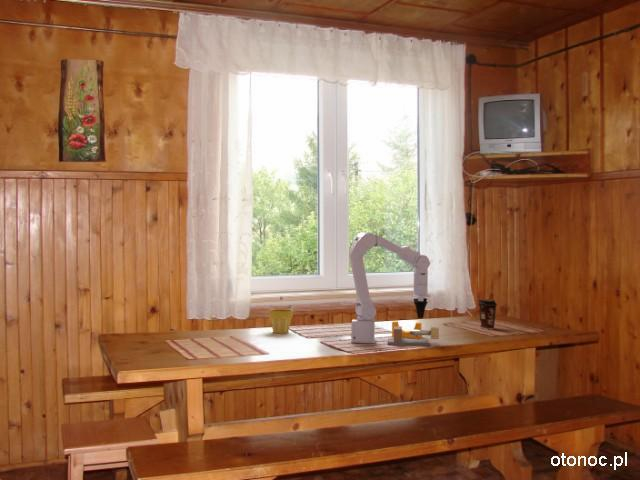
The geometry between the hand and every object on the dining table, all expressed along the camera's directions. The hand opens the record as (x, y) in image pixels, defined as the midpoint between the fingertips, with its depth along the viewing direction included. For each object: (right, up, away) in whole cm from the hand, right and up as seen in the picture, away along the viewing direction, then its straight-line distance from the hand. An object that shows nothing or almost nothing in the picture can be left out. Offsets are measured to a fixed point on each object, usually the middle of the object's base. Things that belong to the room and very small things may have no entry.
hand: (420, 316), depth 281 cm
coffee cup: (+35, -9, +32) cm, 48 cm away
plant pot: (-58, -9, +18) cm, 62 cm away
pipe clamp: (-4, -10, +7) cm, 13 cm away
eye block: (-5, -10, -9) cm, 14 cm away
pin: (0, -7, -10) cm, 12 cm away
